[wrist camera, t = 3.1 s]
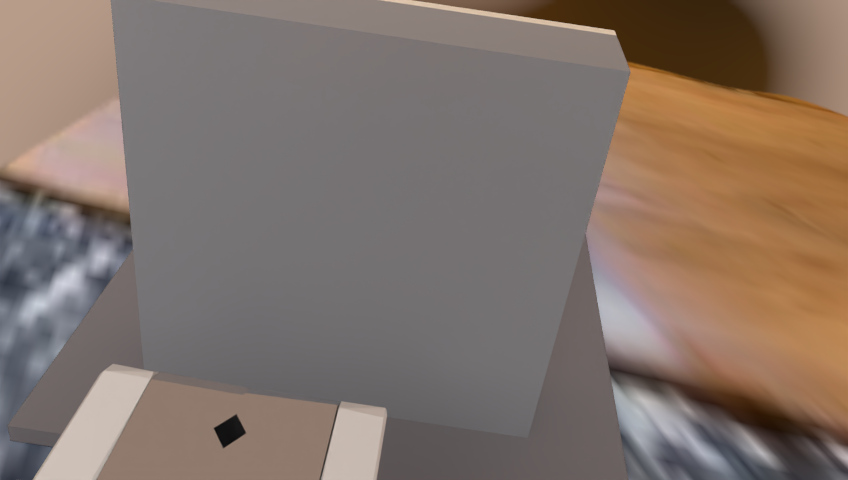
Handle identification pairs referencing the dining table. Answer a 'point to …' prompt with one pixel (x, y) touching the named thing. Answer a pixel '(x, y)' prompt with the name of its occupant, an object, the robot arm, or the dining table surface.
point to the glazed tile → (362, 196)
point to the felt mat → (403, 439)
